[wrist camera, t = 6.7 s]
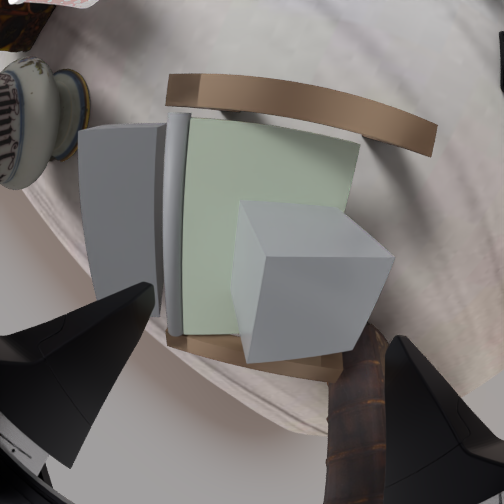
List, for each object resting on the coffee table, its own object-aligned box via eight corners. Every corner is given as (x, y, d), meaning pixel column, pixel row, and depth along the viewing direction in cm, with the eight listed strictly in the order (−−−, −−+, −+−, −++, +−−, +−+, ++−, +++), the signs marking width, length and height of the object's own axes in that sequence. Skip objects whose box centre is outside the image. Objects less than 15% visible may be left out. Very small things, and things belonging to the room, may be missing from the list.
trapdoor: (319, 129, 16) (361, 140, 12) (285, 287, 22) (305, 331, 18) (104, 113, 13) (69, 118, 8) (114, 285, 19) (99, 332, 14)
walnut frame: (385, 122, 15) (437, 125, 8) (331, 309, 23) (335, 383, 16) (221, 90, 16) (169, 74, 9) (203, 282, 24) (167, 345, 17)
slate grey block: (337, 207, 13) (395, 257, 9) (314, 287, 16) (352, 350, 11) (239, 199, 12) (266, 256, 8) (230, 289, 14) (246, 363, 10)
